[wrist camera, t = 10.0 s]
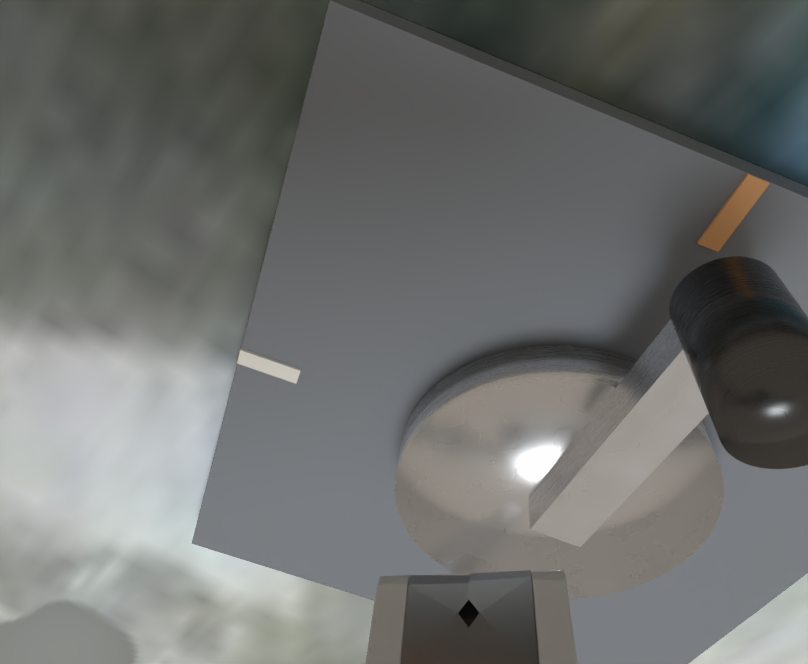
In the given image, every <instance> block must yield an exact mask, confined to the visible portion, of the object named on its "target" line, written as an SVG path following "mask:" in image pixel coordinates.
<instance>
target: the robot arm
mask: <svg viewBox="0 0 808 664" xmlns="http://www.w3.org/2000/svg"><path fill="white" fill-rule="evenodd" d="M532 582H533V583H532ZM366 664H578V662H577V655H576V647H575V640H574V633H573V626H572V618H571V611H570V604H569V596H568V589H567V582H566V576H565V573H564V570H546V571H532V575H531V570H525V571H505V572H486V573H470V574H448V575H394V576H380V579H379V581H378V584H377V587H376V594H375V601H374V608H373V615H372V622H371V629H370V637H369V644H368V651H367V658H366Z"/></svg>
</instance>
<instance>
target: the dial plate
mask: <svg viewBox="0 0 808 664" xmlns="http://www.w3.org/2000/svg"><path fill="white" fill-rule="evenodd" d="M731 256H742V257H749V258H754V259H757V260H760V261H762V262H764V263H766V264H767V265H768V266H770V267H771V268H772V269H773V270H774V271H775V272H776V273H777V275H778V276H779V278H780V279H781V280H782V282H783V283H784V284H785V286H786V287H787V289H788V290H789V291H790V293H791V294H792V295H793V297H794V298H795V300H796V301H797V302H798V304H799V305H800V306H801V308H802V309H803V311H804V312H805V313H806V315H807V316H808V187H807V186H805V185H803V184H800V183H798V182H795V181H793V180H791V179H788V178H786V177H783V176H781V175H779V174H776V173H774V172H771V171H769V170H767V169H764V168H762V167H759V166H757V165H754V164H752V163H750V162H747V161H745V160H742V159H740V158H738V157H735V156H733V155H730V154H728V153H726V152H723V151H721V150H718V149H716V148H714V147H711V146H709V145H706V144H704V143H702V142H699V141H697V140H694V139H692V138H690V137H687V136H685V135H682V134H680V133H678V132H675V131H673V130H670V129H668V128H665V127H663V126H661V125H658V124H656V123H653V122H651V121H649V120H646V119H644V118H641V117H639V116H637V115H634V114H632V113H629V112H627V111H625V110H622V109H620V108H617V107H615V106H613V105H610V104H608V103H605V102H603V101H601V100H598V99H596V98H593V97H591V96H589V95H586V94H584V93H581V92H579V91H577V90H574V89H572V88H569V87H567V86H564V85H562V84H560V83H557V82H555V81H552V80H550V79H548V78H545V77H543V76H540V75H538V74H536V73H533V72H531V71H528V70H526V69H524V68H521V67H519V66H516V65H514V64H512V63H509V62H507V61H504V60H502V59H500V58H497V57H495V56H492V55H490V54H488V53H485V52H483V51H480V50H478V49H475V48H473V47H471V46H468V45H466V44H463V43H461V42H459V41H456V40H454V39H451V38H449V37H447V36H444V35H442V34H439V33H437V32H435V31H432V30H430V29H427V28H425V27H423V26H420V25H418V24H415V23H413V22H411V21H408V20H406V19H403V18H401V17H399V16H396V15H394V14H391V13H389V12H387V11H384V10H382V9H379V8H377V7H374V6H372V5H370V4H367V3H365V2H362V1H360V0H330V1H329V5H328V9H327V13H326V17H325V21H324V25H323V29H322V33H321V36H320V40H319V44H318V48H317V52H316V56H315V60H314V64H313V68H312V72H311V76H310V80H309V84H308V88H307V92H306V96H305V99H304V103H303V107H302V111H301V115H300V119H299V123H298V127H297V131H296V135H295V139H294V143H293V147H292V151H291V155H290V159H289V162H288V166H287V170H286V174H285V178H284V182H283V186H282V190H281V194H280V198H279V202H278V206H277V210H276V214H275V218H274V222H273V225H272V229H271V233H270V237H269V241H268V245H267V249H266V253H265V257H264V261H263V265H262V269H261V273H260V277H259V281H258V284H257V288H256V292H255V296H254V300H253V304H252V308H251V312H250V316H249V320H248V324H247V328H246V332H245V336H244V340H243V344H242V347H241V350H240V353H239V357H238V361H237V367H236V371H235V375H234V379H233V383H232V387H231V391H230V395H229V399H228V403H227V407H226V410H225V414H224V418H223V422H222V426H221V430H220V434H219V438H218V442H217V446H216V450H215V454H214V458H213V462H212V466H211V469H210V473H209V477H208V481H207V485H206V489H205V493H204V497H203V501H202V505H201V509H200V513H199V517H198V521H197V525H196V529H195V532H194V536H193V540H192V544H195V545H199V546H202V547H205V548H208V549H211V550H215V551H218V552H221V553H224V554H227V555H231V556H234V557H237V558H240V559H243V560H246V561H250V562H253V563H256V564H259V565H262V566H266V567H269V568H272V569H275V570H278V571H282V572H285V573H288V574H291V575H294V576H298V577H301V578H304V579H307V580H310V581H314V582H317V583H320V584H323V585H326V586H329V587H333V588H336V589H339V590H342V591H345V592H349V593H352V594H355V595H358V596H361V597H365V598H368V599H371V600H374V601H375V594H376V587H377V584H378V581H379V579H380V576H394V575H448V574H454V573H453V572H451V571H449V570H448V569H446V568H445V567H443V566H441V565H440V564H438V563H437V562H436V561H435V560H433V559H432V558H431V557H429V556H428V555H427V554H426V553H425V552H424V551H423V550H422V549H421V548H420V547H419V546H418V545H417V544H416V543H415V542H414V540H413V539H412V537H411V536H410V535H409V533H408V532H407V530H406V529H405V527H404V525H403V523H402V521H401V519H400V516H399V513H398V510H397V507H396V500H395V493H394V492H395V477H396V471H397V465H398V459H399V454H400V448H401V442H402V438H403V434H404V430H405V427H406V424H407V422H408V420H409V418H410V415H411V414H412V412H413V411H414V409H415V408H416V406H417V405H418V403H419V402H420V400H421V399H422V398H423V397H424V396H425V395H426V394H427V393H428V392H429V391H430V390H431V389H432V388H433V387H434V386H435V385H437V384H438V383H439V382H440V381H442V380H443V379H444V378H445V377H447V376H449V375H450V374H452V373H453V372H455V371H457V370H458V369H460V368H462V367H464V366H466V365H468V364H470V363H473V362H475V361H477V360H479V359H482V358H485V357H488V356H491V355H494V354H497V353H500V352H505V351H510V350H514V349H519V348H526V347H535V346H577V347H586V348H593V349H598V350H602V351H607V352H612V353H615V354H618V355H621V356H624V357H627V358H630V359H633V360H635V361H638V359H639V358H640V357H641V356H642V354H643V353H644V352H645V351H646V349H647V348H648V347H649V346H650V344H651V343H652V342H653V341H654V339H655V338H656V337H657V336H658V334H659V333H660V332H661V331H662V329H663V328H664V327H665V326H666V324H667V323H668V322H669V321H670V319H671V318H670V313H669V306H670V300H671V297H672V294H673V292H674V290H675V289H676V287H677V286H678V284H679V283H680V282H681V281H682V279H683V278H684V277H685V276H687V275H688V274H689V273H690V272H691V271H693V270H694V269H696V268H697V267H699V266H701V265H703V264H705V263H707V262H709V261H712V260H715V259H719V258H724V257H731ZM702 421H703V424H704V426H705V429H706V431H707V434H708V437H709V439H710V442H711V444H712V447H713V449H714V452H715V455H716V457H717V460H718V463H719V466H720V469H721V472H722V475H723V484H724V497H723V505H722V509H721V512H720V515H719V519H718V520H717V522H716V524H715V526H714V528H713V530H712V532H711V533H710V535H709V536H708V537H707V539H706V540H705V541H704V543H703V544H702V545H701V546H700V547H699V548H698V549H697V550H696V551H695V552H694V553H693V554H692V555H691V556H690V557H688V558H687V559H686V560H685V561H683V562H682V563H681V564H679V565H678V566H677V567H675V568H673V569H671V570H670V571H668V572H666V573H665V574H663V575H661V576H659V577H657V578H655V579H652V580H650V581H648V582H646V583H643V584H640V585H637V586H635V587H632V588H629V589H625V590H621V591H617V592H613V593H609V594H603V595H597V596H591V597H580V598H569V604H570V611H571V618H572V626H573V633H574V640H575V647H576V655H577V662H578V664H688V663H690V662H691V661H692V660H694V659H695V658H696V657H698V656H699V655H700V654H702V653H703V652H704V651H705V650H707V649H708V648H709V647H711V646H712V645H713V644H715V643H716V642H717V641H719V640H720V639H721V638H723V637H724V636H725V635H727V634H728V633H729V632H731V631H732V630H733V629H734V628H736V627H737V626H738V625H740V624H741V623H742V622H744V621H745V620H746V619H748V618H749V617H750V616H752V615H753V614H754V613H756V612H757V611H758V610H759V609H761V608H762V607H763V606H765V605H766V604H767V603H769V602H770V601H771V600H773V599H774V598H775V597H777V596H778V595H779V594H781V593H782V592H783V591H785V590H786V589H787V588H788V587H790V586H791V585H792V584H794V583H795V582H796V581H798V580H799V579H800V578H802V577H803V576H804V575H806V574H807V573H808V465H805V466H801V467H796V468H789V469H766V468H759V467H755V466H751V465H748V464H745V463H743V462H741V461H739V460H737V459H735V458H734V457H732V456H731V455H730V454H729V453H728V452H727V451H726V450H725V449H724V447H723V445H722V444H721V442H720V439H719V437H718V434H717V432H716V430H715V427H714V425H713V422H712V420H711V417H710V415H709V413H708V414H707V415H706V416H705V417H704V418H703V420H702Z"/></svg>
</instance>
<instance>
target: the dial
mask: <svg viewBox="0 0 808 664" xmlns="http://www.w3.org/2000/svg"><path fill="white" fill-rule="evenodd" d="M669 313H670V318H671V319H670V321H669V322H668V323H667V324H666V326H665V327H664V328H663V329H662V331H661V332H660V333H659V334H658V336H657V337H656V338H655V339H654V341H653V342H652V343H651V344H650V346H649V347H648V348H647V349H646V351H645V352H644V353H643V354H642V356H641V357H640V358H639V359H638V361H635V360H633V359H630V358H627V357H624V356H621V355H618V354H615V353H612V352H607V351H602V350H598V349H593V348H586V347H577V346H535V347H526V348H519V349H514V350H510V351H505V352H500V353H497V354H494V355H491V356H488V357H485V358H482V359H479V360H477V361H475V362H473V363H470V364H468V365H466V366H464V367H462V368H460V369H458V370H457V371H455V372H453V373H452V374H450V375H449V376H447V377H445V378H444V379H443V380H442V381H440V382H439V383H438V384H437V385H435V386H434V387H433V388H432V389H431V390H430V391H429V392H428V393H427V394H426V395H425V396H424V397H423V398H422V399H421V400H420V402H419V403H418V405H417V406H416V408H415V409H414V411H413V412H412V414H411V415H410V418H409V420H408V422H407V424H406V427H405V430H404V434H403V438H402V442H401V448H400V454H399V459H398V465H397V471H396V477H395V492H394V493H395V500H396V507H397V510H398V513H399V516H400V519H401V521H402V523H403V525H404V527H405V529H406V530H407V532H408V533H409V535H410V536H411V537H412V539H413V540H414V542H415V543H416V544H417V545H418V546H419V547H420V548H421V549H422V550H423V551H424V552H425V553H426V554H427V555H428V556H429V557H431V558H432V559H433V560H435V561H436V562H437V563H438V564H440V565H441V566H443V567H445V568H446V569H448V570H449V571H451V572H453V573H454V574H470V573H486V572H505V571H525V570H531V575H532V571H546V570H564V573H565V576H566V582H567V589H568V596H569V598H580V597H591V596H597V595H603V594H609V593H613V592H617V591H621V590H625V589H629V588H632V587H635V586H637V585H640V584H643V583H646V582H648V581H650V580H652V579H655V578H657V577H659V576H661V575H663V574H665V573H666V572H668V571H670V570H671V569H673V568H675V567H677V566H678V565H679V564H681V563H682V562H683V561H685V560H686V559H687V558H688V557H690V556H691V555H692V554H693V553H694V552H695V551H696V550H697V549H698V548H699V547H700V546H701V545H702V544H703V543H704V541H705V540H706V539H707V537H708V536H709V535H710V533H711V532H712V530H713V528H714V526H715V524H716V522H717V520H718V519H719V515H720V512H721V509H722V505H723V497H724V484H723V475H722V472H721V469H720V466H719V463H718V460H717V457H716V455H715V452H714V449H713V447H712V444H711V442H710V439H709V437H708V434H707V431H706V429H705V426H704V424H703V421H702V420H703V418H704V417H705V416H706V415H707V414H708V413H709V415H710V417H711V420H712V422H713V425H714V427H715V430H716V432H717V434H718V437H719V439H720V442H721V444H722V445H723V447H724V449H725V450H726V451H727V452H728V453H729V454H730V455H731V456H732V457H734V458H735V459H737V460H739V461H741V462H743V463H745V464H748V465H751V466H755V467H759V468H766V469H789V468H796V467H801V466H805V465H808V316H807V315H806V313H805V312H804V311H803V309H802V308H801V306H800V305H799V304H798V302H797V301H796V300H795V298H794V297H793V295H792V294H791V293H790V291H789V290H788V289H787V287H786V286H785V284H784V283H783V282H782V280H781V279H780V278H779V276H778V275H777V273H776V272H775V271H774V270H773V269H772V268H771V267H770V266H768V265H767V264H766V263H764V262H762V261H760V260H757V259H754V258H749V257H742V256H731V257H724V258H719V259H715V260H712V261H709V262H707V263H705V264H703V265H701V266H699V267H697V268H696V269H694V270H693V271H691V272H690V273H689V274H688V275H687V276H685V277H684V278H683V279H682V281H681V282H680V283H679V284H678V286H677V287H676V289H675V290H674V292H673V294H672V297H671V300H670V306H669ZM532 583H533V582H532Z"/></svg>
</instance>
